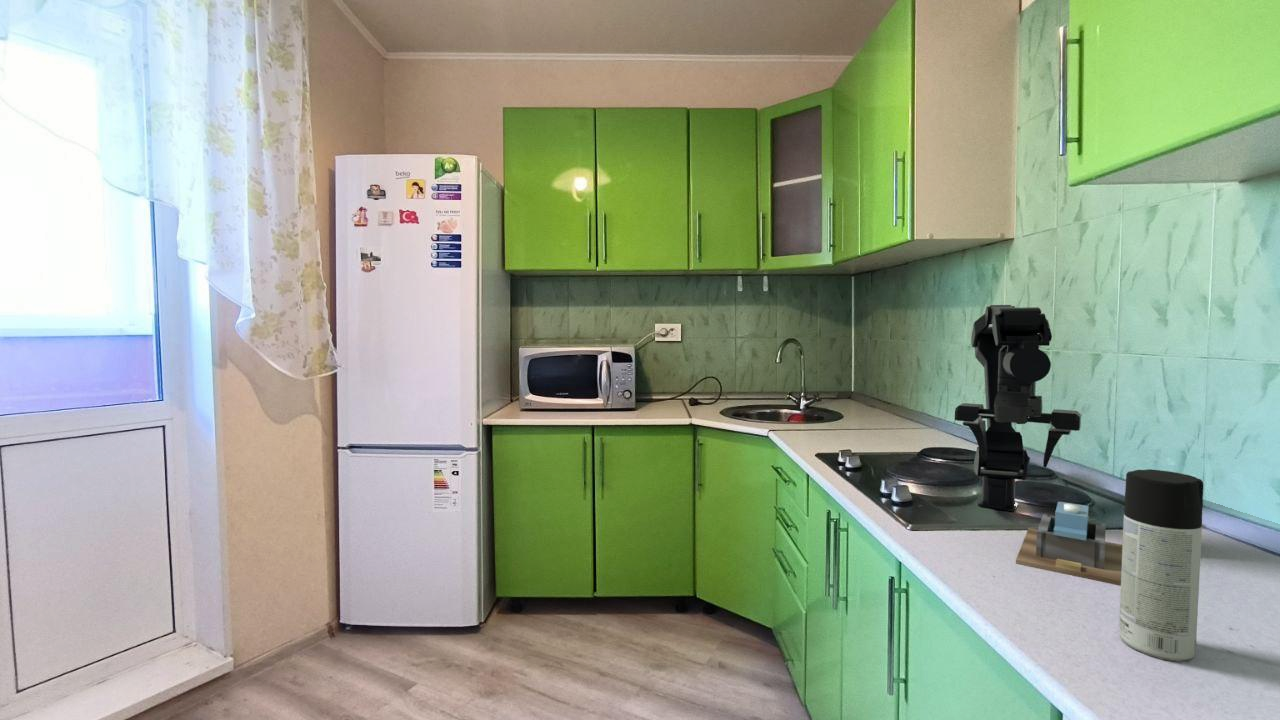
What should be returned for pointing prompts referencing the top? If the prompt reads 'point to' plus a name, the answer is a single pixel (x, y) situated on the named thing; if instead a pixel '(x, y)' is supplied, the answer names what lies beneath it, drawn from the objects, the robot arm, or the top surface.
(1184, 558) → the spray can
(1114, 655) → the top surface
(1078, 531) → the servo block
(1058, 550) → the pocket board
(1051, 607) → the top surface
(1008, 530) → the top surface
